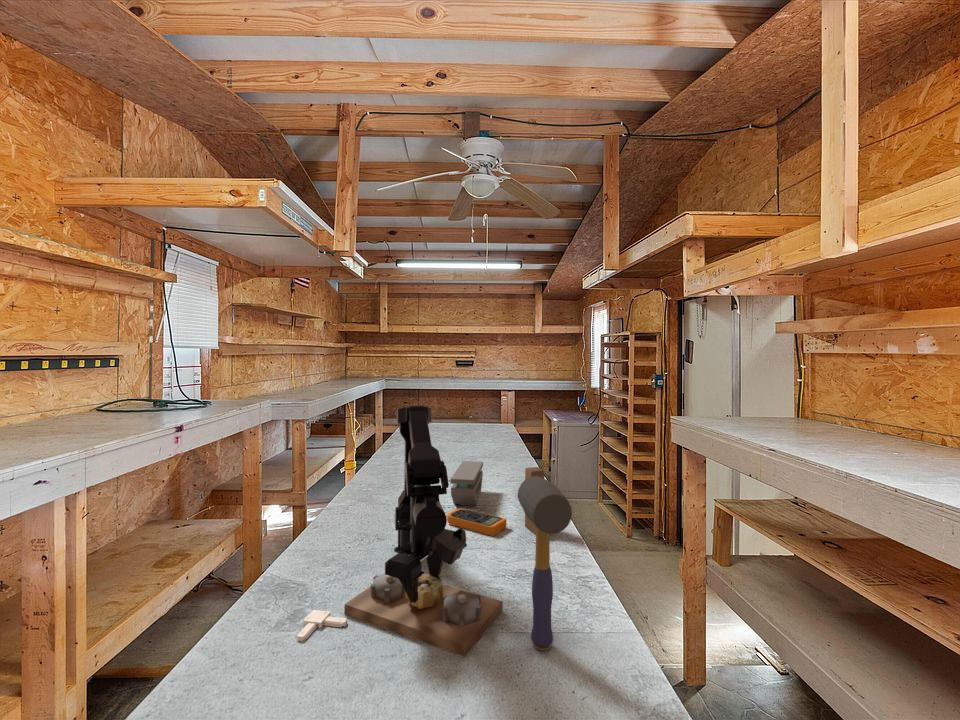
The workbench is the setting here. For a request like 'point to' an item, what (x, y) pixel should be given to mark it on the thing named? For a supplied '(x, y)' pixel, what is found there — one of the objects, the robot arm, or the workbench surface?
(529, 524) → the wooden block
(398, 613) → the gear board
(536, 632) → the rubber mallet
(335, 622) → the corner connector
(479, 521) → the multimeter
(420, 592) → the brass gear
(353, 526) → the workbench surface
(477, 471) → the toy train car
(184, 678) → the workbench surface
